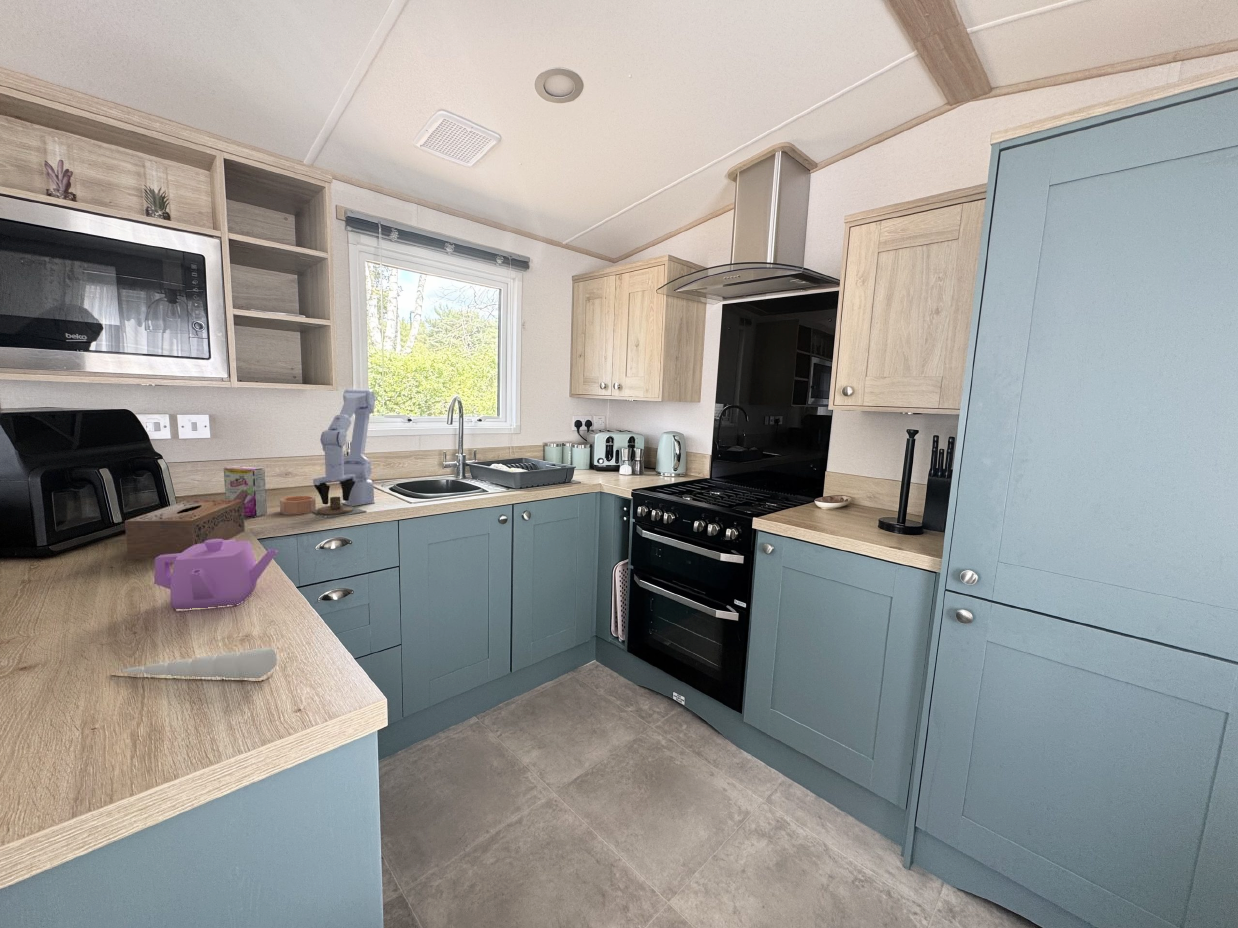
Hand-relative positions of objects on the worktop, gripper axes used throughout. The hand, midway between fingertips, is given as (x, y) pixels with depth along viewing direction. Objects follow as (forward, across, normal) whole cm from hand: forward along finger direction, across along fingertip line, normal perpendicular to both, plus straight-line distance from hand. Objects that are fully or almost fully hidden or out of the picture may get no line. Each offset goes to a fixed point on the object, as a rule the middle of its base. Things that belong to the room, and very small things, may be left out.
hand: (335, 502), depth 184 cm
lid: (+3, 0, 0) cm, 3 cm away
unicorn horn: (+4, +78, +81) cm, 112 cm away
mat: (+4, -1, 0) cm, 4 cm away
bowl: (+4, +6, -12) cm, 14 cm away
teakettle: (+4, +60, +50) cm, 78 cm away
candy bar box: (+4, +19, -20) cm, 28 cm away
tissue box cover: (+4, +45, +3) cm, 45 cm away
